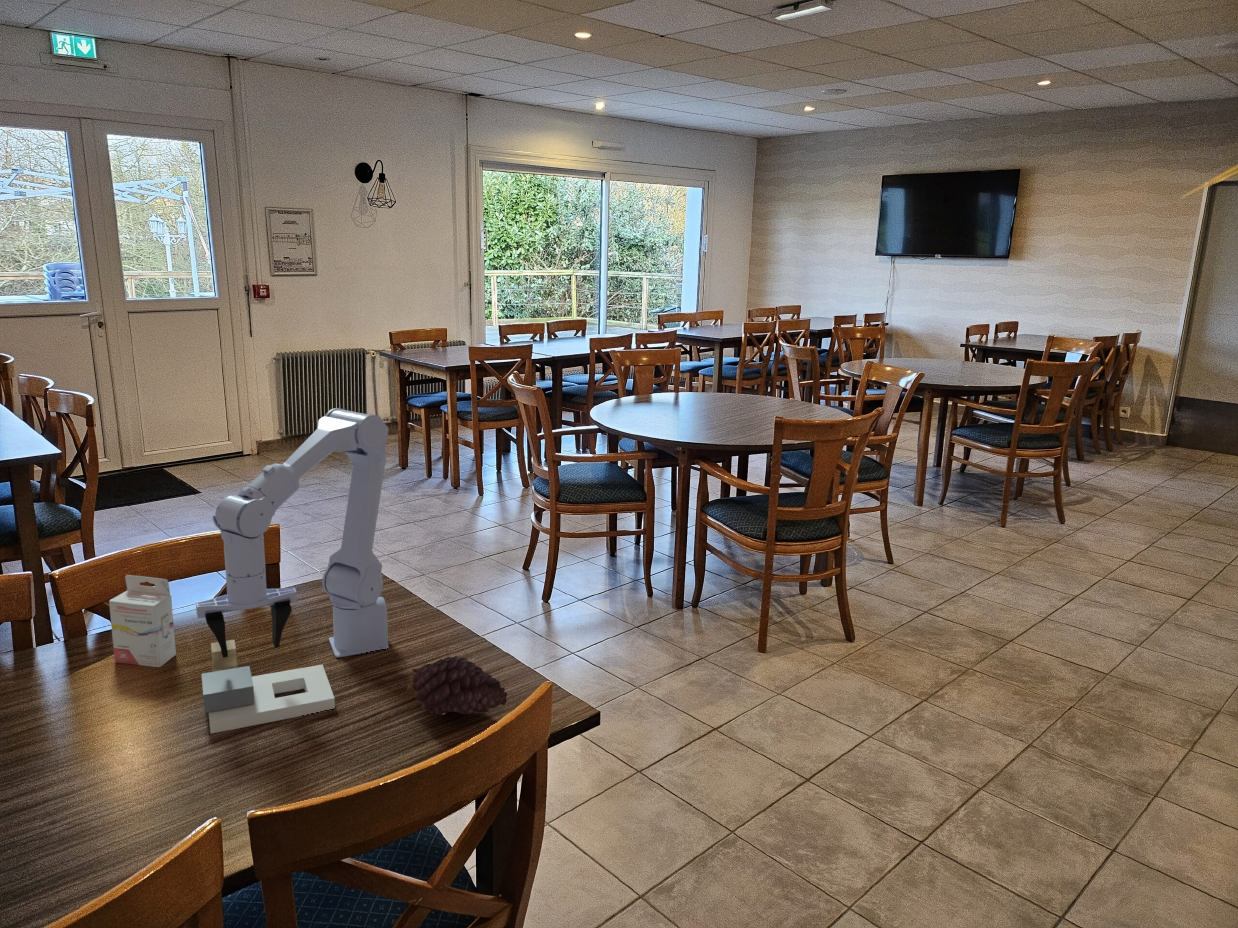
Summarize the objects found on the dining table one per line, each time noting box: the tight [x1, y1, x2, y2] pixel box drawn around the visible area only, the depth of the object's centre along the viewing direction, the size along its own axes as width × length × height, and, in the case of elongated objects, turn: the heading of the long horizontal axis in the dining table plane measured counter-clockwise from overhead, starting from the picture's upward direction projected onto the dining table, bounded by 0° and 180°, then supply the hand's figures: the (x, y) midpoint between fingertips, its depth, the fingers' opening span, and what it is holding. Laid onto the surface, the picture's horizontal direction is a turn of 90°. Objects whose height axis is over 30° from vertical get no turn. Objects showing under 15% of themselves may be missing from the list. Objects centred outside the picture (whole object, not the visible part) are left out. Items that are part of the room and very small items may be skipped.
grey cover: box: [201, 665, 254, 713], centre depth 132 cm, size 7×7×3 cm
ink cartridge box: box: [108, 574, 177, 668], centre depth 145 cm, size 9×5×15 cm, turn 84°
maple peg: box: [210, 639, 238, 672], centre depth 142 cm, size 4×4×6 cm
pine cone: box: [406, 655, 508, 717], centre depth 134 cm, size 18×10×10 cm, turn 70°
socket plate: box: [208, 664, 336, 734], centre depth 135 cm, size 18×12×2 cm, turn 118°
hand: (250, 649), depth 135 cm, fingers open, 7 cm apart
